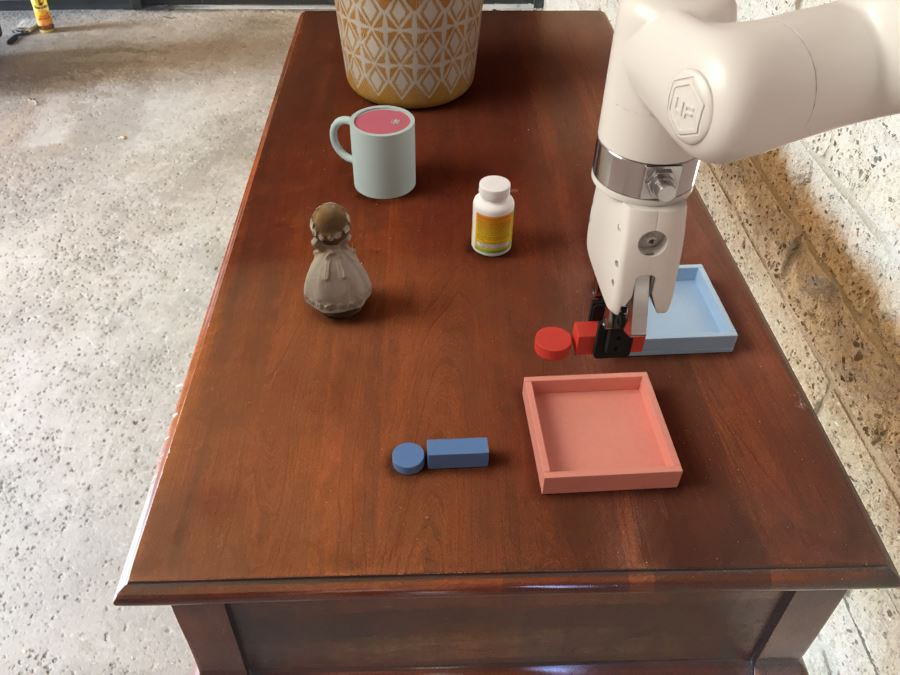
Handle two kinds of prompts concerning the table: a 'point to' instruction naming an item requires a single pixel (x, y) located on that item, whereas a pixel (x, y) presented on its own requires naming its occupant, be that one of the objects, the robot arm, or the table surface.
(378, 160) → the mug
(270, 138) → the table surface
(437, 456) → the blue spoon
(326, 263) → the figurine
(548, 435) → the red tray
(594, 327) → the red spoon
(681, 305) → the blue tray
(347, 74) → the planter
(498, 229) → the supplement bottle
